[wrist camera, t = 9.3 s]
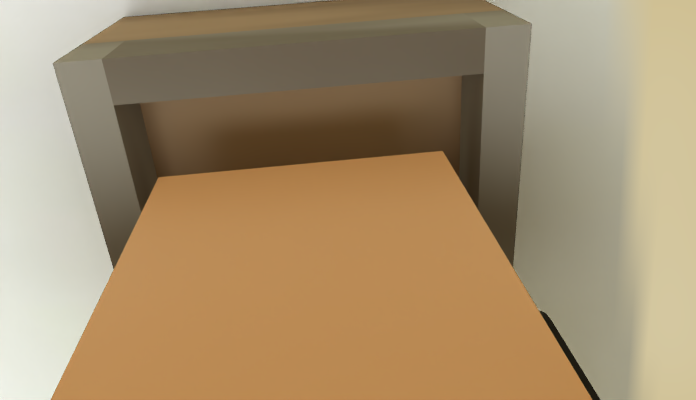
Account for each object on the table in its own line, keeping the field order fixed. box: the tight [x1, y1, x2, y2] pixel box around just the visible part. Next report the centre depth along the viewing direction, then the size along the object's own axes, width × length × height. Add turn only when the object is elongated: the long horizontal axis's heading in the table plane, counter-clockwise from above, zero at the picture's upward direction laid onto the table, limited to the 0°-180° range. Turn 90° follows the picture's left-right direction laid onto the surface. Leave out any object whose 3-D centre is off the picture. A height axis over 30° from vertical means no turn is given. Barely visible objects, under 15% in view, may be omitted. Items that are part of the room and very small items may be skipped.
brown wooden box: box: [53, 0, 532, 268], centre depth 14 cm, size 10×8×4 cm
